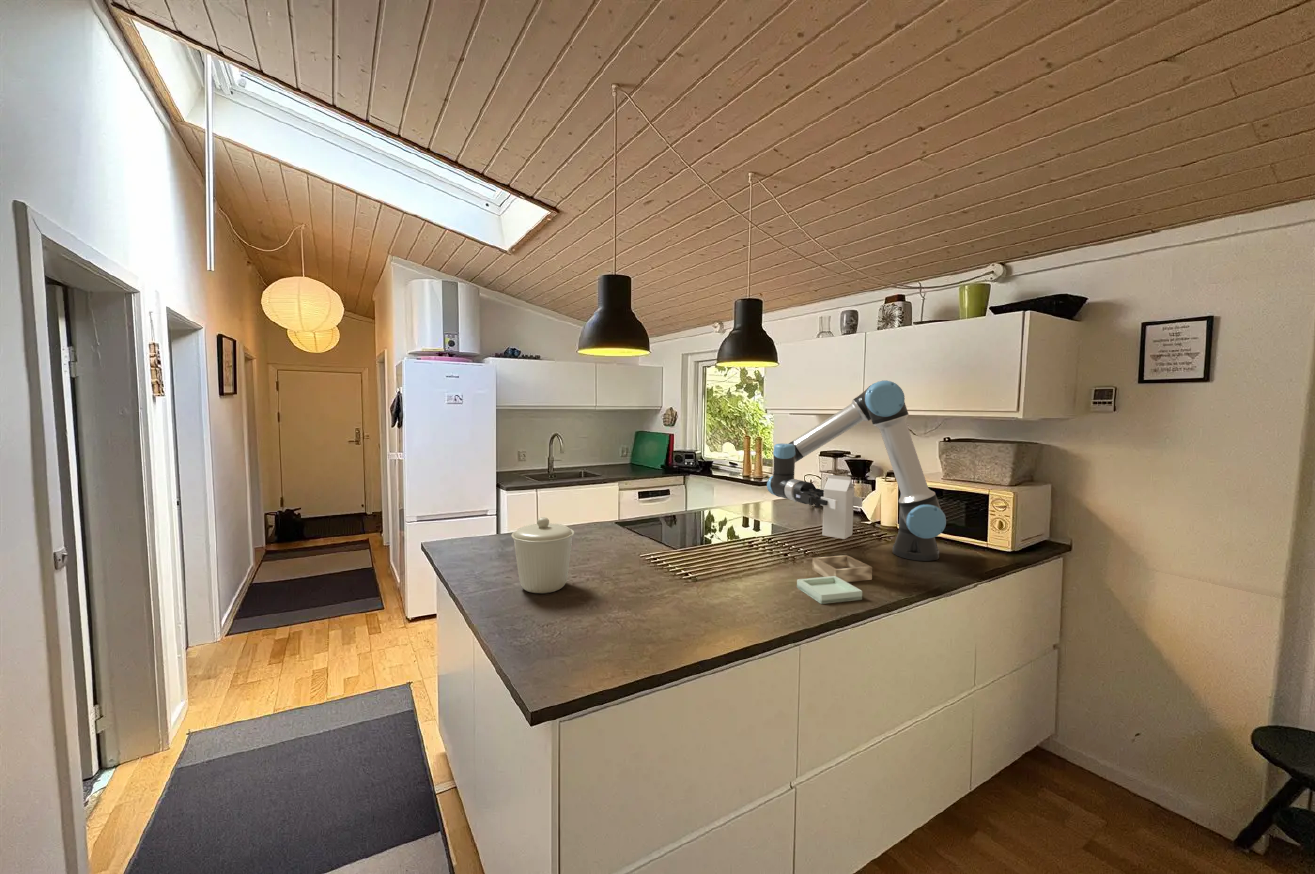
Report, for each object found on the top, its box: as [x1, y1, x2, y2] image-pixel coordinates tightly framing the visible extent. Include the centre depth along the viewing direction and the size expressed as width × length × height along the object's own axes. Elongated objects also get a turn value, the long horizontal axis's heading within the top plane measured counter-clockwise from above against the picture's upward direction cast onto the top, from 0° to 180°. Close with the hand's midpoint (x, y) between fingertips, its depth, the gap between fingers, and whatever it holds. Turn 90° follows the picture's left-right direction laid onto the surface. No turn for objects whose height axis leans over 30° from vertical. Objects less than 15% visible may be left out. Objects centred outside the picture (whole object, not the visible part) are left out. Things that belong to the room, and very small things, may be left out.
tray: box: [796, 576, 863, 605], centre depth 153 cm, size 13×13×2 cm
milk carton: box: [821, 474, 855, 540], centre depth 166 cm, size 7×7×19 cm
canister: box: [511, 517, 575, 594], centre depth 156 cm, size 18×18×21 cm
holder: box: [811, 554, 873, 583], centre depth 170 cm, size 13×13×4 cm
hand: (849, 503), depth 162 cm, fingers closed on milk carton, 9 cm apart
